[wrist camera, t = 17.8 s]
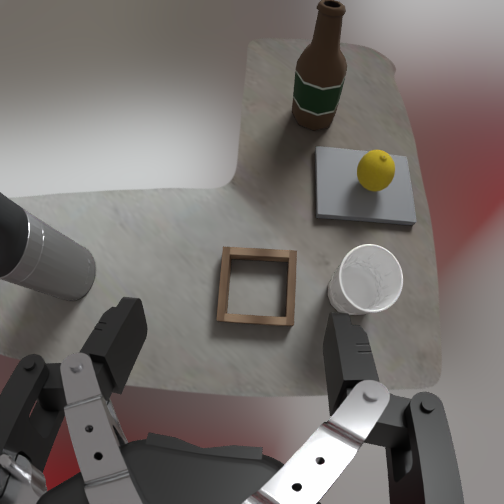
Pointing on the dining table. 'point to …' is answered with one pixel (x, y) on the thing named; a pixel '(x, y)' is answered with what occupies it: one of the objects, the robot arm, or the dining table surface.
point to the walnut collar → (259, 255)
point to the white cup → (366, 281)
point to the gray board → (360, 190)
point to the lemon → (376, 170)
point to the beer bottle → (320, 70)
